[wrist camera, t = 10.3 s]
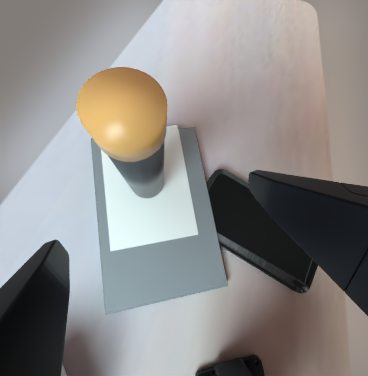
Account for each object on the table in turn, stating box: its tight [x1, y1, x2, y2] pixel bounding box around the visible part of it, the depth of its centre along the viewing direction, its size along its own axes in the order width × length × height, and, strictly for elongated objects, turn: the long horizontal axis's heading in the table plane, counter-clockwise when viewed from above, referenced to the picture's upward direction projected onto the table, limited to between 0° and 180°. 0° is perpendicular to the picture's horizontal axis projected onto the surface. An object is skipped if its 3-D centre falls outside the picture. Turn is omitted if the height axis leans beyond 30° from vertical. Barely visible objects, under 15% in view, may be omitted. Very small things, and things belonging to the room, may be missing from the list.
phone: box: [206, 169, 318, 293], centre depth 22 cm, size 8×1×15 cm
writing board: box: [91, 125, 228, 315], centre depth 21 cm, size 18×12×1 cm, turn 10°
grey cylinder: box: [77, 67, 167, 198], centre depth 15 cm, size 4×4×13 cm
